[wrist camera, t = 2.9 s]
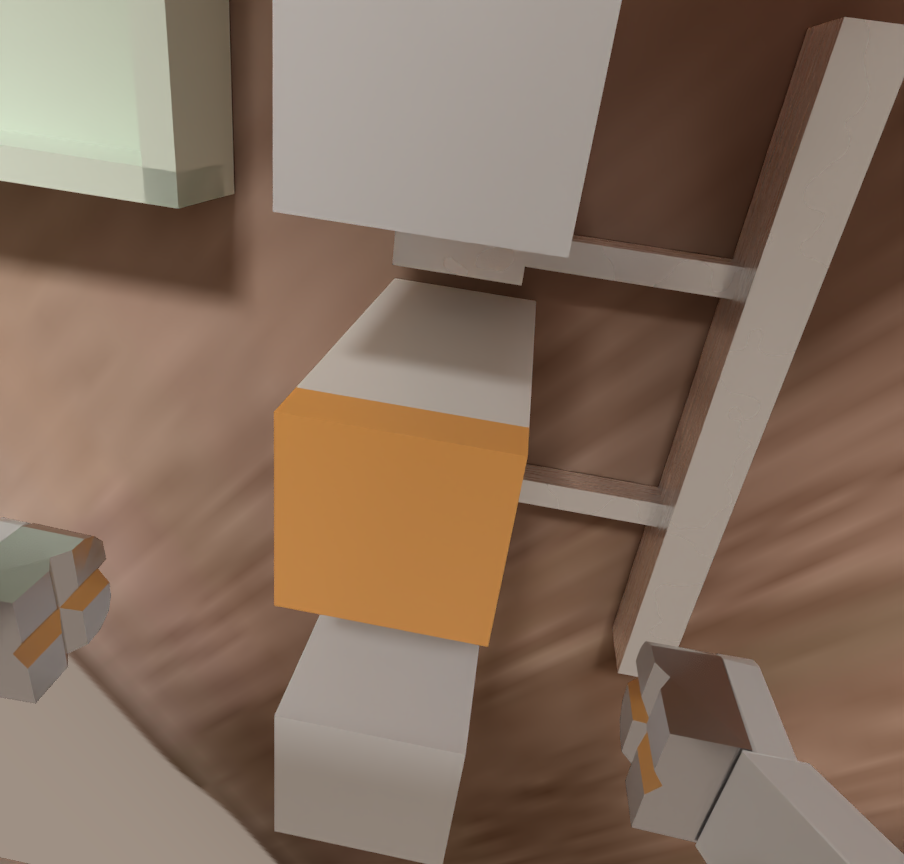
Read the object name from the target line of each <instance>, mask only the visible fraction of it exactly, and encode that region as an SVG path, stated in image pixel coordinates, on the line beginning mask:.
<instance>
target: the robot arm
mask: <svg viewBox="0 0 904 864" xmlns="http://www.w3.org/2000/svg"><path fill="white" fill-rule="evenodd" d="M105 560H106V557H105V551H104V546H103V541H101V540H100V539H98V538H96V537H95V536H91V535H86V534H82V533H77V532H73V531H68V530H63V529H59V528H54V527H49V526H45V525H40V524H35V523H32V524H31V523H27V522H23V521H18V520H14V519H9V518H5V517H1V518H0V697H1V698H7V699H13V700H18V701H24V702H30V703H36V702H37V701H38V700H39V699H40V698H41V697H42V696H43V695H44V694H45V692H46V691H47V690H48V689H49V688H50V687H51V685H52V684H53V683H54V682H55V681H56V680H57V679H58V678H59V676H60V675H61V674H62V673H63V672H64V671H65V670H66V669H67V667H68V653H70V652H72V651H74V650H76V649H79V648H81V647H83V646H85V645H87V644H88V643H89V642H90V641H91V640H92V639H93V637H94V636H95V635H96V634H97V633H98V631H99V630H100V629H101V627H102V624H103V622H104V620H105V618H106V616H107V613H108V611H109V605H110V598H111V593H110V584H109V582H108V580H107V579H106V578H105V577H104V576H103V574H102V573H101V572H100V571H99V569H98V568H99V567H100V566H101V564H102V563H103V562H104V561H105ZM636 666H637V673H638V677H637V678H636V679H634V680H632V681H631V682H629V683H628V684H627V687H626V691H625V694H624V697H623V700H622V707H621V715H620V740H621V750H622V752H623V754H624V755H625V756H626V757H627V759H628V760H629V761H630V763H631V766H630V769H629V772H628V775H627V777H626V780H625V782H626V790H627V797H628V805H629V813H630V820H631V827H632V828H637V829H641V830H645V831H649V832H654V833H658V834H662V835H666V836H670V837H675V838H679V839H683V840H687V841H692V842H696V845H695V846H696V848H697V849H698V851H699V852H700V854H701V855H702V857H703V859H704V860H705V862H706V863H707V864H904V854H903V853H902V852H901V851H900V850H899V849H898V848H897V847H895V846H894V845H893V844H892V843H891V842H890V841H889V840H888V839H887V838H886V837H885V836H884V835H883V834H882V833H881V832H880V831H879V830H878V829H877V828H876V827H875V826H874V825H873V824H872V823H871V822H870V821H868V820H867V819H866V818H865V817H864V816H863V815H862V814H861V813H860V812H859V811H858V810H857V809H856V808H855V807H854V806H853V805H852V804H851V803H850V802H849V801H848V800H847V799H846V798H845V797H844V796H843V795H841V794H840V793H839V792H838V791H837V790H836V789H835V788H834V787H833V786H832V785H831V784H830V783H829V782H828V781H827V780H826V779H825V778H824V777H823V776H822V775H821V774H820V773H819V772H818V771H817V770H815V769H814V768H813V767H812V766H811V765H810V764H809V763H804V762H800V761H798V760H797V758H796V756H795V753H794V751H793V748H792V746H791V743H790V741H789V738H788V736H787V733H786V731H785V728H784V726H783V724H782V721H781V719H780V716H779V714H778V711H777V709H776V706H775V704H774V701H773V699H772V697H771V694H770V692H769V689H768V687H767V684H766V682H765V679H764V677H763V674H762V672H761V669H760V667H759V665H758V664H757V663H756V662H755V661H754V660H752V659H747V658H741V657H735V656H729V655H723V654H713V653H708V652H703V651H697V650H692V649H686V648H681V647H676V646H670V645H665V644H659V643H654V642H648V641H645V642H644V644H643V645H642V646H641V648H640V650H639V653H638V656H637V659H636ZM0 864H28V863H23V862H19V861H14V860H10V859H6V858H1V857H0Z"/></svg>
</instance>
